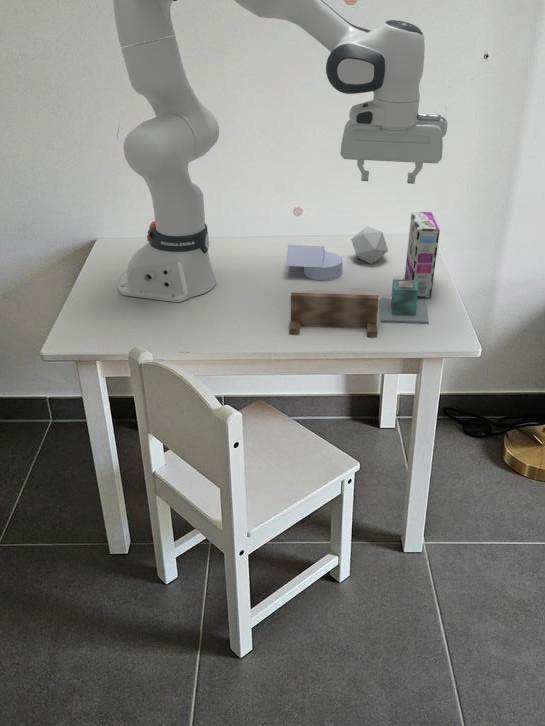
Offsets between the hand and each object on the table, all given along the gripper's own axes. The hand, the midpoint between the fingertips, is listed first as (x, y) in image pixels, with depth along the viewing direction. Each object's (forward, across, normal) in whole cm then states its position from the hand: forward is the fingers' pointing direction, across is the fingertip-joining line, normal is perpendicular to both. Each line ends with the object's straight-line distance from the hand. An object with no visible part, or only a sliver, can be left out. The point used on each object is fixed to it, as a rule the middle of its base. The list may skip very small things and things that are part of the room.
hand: (387, 181), depth 150 cm
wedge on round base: (+28, +14, -12) cm, 33 cm away
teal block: (+26, -6, +6) cm, 27 cm away
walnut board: (+27, +9, +16) cm, 32 cm away
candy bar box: (+27, -10, -6) cm, 29 cm away
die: (+27, +1, -20) cm, 34 cm away
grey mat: (+26, -6, +6) cm, 28 cm away
